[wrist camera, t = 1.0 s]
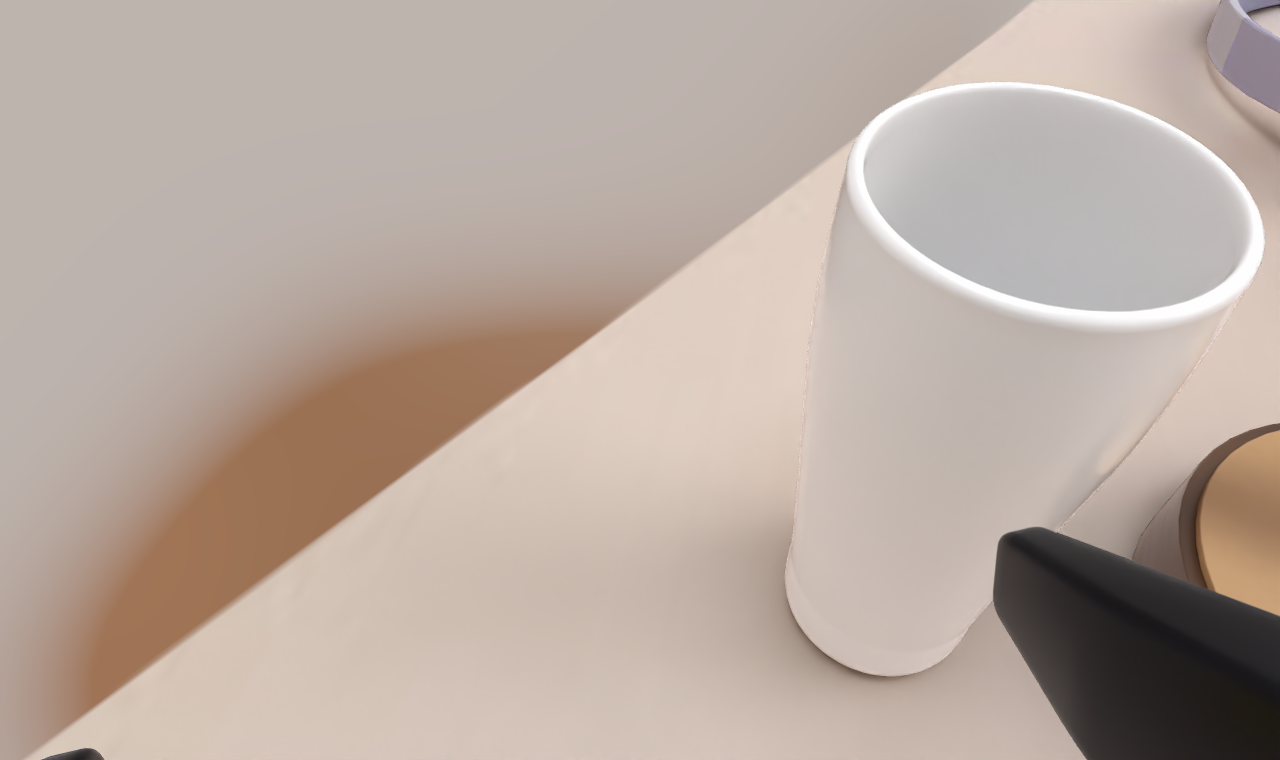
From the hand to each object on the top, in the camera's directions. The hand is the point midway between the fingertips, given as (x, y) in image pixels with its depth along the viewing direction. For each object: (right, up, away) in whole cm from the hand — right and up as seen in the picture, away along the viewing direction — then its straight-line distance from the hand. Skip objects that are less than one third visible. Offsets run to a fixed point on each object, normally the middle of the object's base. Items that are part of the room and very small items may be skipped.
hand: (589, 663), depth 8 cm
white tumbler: (+7, -4, +17) cm, 19 cm away
